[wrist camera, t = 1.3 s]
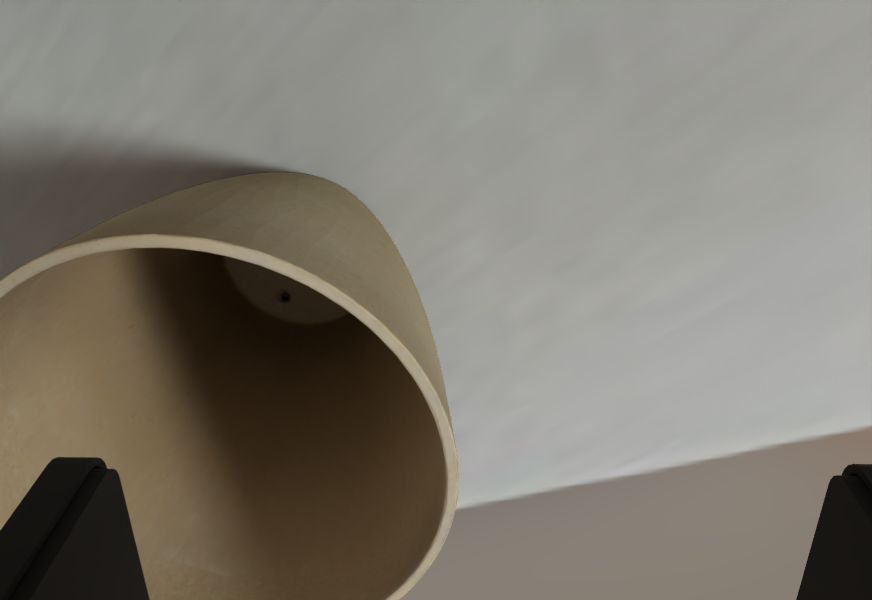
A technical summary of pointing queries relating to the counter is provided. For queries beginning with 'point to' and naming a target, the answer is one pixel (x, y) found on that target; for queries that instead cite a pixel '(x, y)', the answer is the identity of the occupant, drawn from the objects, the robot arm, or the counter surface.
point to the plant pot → (239, 390)
